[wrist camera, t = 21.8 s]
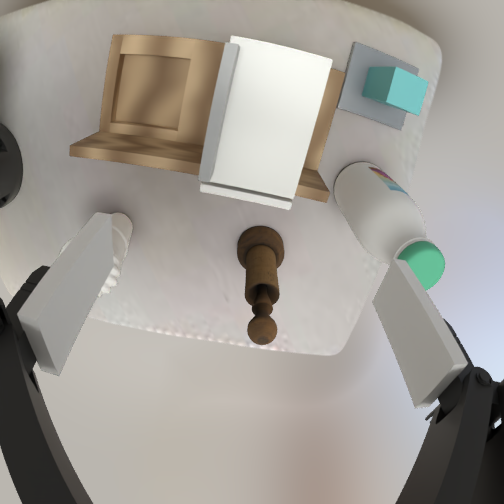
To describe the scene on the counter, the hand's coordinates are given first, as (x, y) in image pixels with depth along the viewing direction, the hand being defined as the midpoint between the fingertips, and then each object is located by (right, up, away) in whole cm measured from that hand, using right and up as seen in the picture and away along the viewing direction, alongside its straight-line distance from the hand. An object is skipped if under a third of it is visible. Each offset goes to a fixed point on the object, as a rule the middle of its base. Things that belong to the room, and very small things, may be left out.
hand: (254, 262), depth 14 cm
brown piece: (-5, +19, +21) cm, 29 cm away
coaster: (+16, +21, +19) cm, 32 cm away
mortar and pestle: (+1, +1, +32) cm, 32 cm away
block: (+15, +21, +18) cm, 32 cm away
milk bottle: (+14, +9, +27) cm, 32 cm away
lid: (+1, +16, +19) cm, 25 cm away
